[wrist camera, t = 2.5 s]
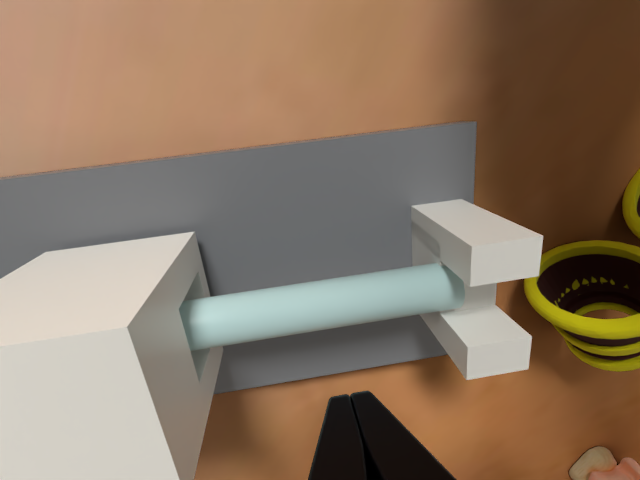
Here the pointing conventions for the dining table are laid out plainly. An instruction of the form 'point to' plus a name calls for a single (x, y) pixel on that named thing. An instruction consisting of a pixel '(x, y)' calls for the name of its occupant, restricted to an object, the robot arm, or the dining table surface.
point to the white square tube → (104, 363)
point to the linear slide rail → (307, 249)
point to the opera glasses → (594, 293)
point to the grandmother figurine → (604, 466)
